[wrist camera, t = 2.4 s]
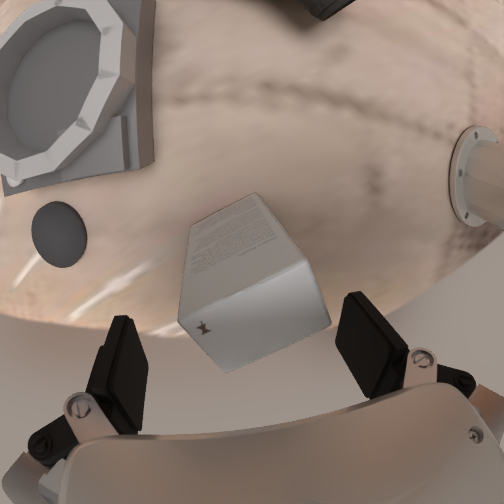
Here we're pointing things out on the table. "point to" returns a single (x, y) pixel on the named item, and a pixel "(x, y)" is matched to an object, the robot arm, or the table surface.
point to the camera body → (75, 92)
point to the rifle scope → (324, 7)
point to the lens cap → (59, 234)
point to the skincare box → (247, 286)
